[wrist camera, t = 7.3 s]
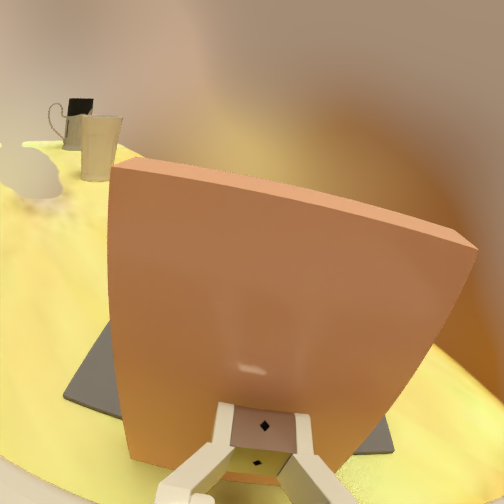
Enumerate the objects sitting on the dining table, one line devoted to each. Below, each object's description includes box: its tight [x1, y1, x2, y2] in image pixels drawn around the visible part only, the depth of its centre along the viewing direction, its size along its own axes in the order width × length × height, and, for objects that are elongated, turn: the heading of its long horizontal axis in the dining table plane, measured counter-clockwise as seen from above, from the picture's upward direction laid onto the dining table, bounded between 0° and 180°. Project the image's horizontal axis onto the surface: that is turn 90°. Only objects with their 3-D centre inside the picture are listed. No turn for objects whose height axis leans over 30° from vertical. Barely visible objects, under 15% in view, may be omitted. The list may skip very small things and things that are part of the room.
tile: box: [107, 157, 479, 486], centre depth 11 cm, size 2×10×14 cm, turn 87°
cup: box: [81, 115, 123, 182], centre depth 52 cm, size 8×8×12 cm
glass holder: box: [48, 98, 93, 151], centre depth 75 cm, size 9×14×15 cm, turn 130°
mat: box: [63, 321, 395, 454], centre depth 23 cm, size 18×20×1 cm
